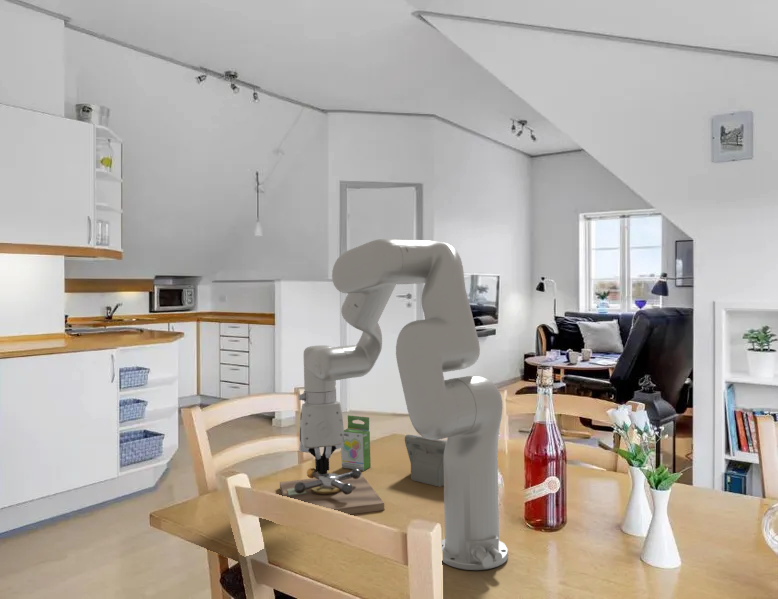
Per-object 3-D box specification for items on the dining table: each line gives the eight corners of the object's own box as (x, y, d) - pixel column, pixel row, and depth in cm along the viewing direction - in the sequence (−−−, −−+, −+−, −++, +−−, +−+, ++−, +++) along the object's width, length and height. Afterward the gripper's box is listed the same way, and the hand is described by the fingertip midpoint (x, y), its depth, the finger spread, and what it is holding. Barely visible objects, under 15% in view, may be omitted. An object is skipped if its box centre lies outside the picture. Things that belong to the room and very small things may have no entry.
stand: (384, 509, 130) (384, 502, 130) (290, 521, 124) (290, 513, 124) (360, 479, 151) (360, 472, 151) (280, 488, 145) (279, 481, 145)
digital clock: (470, 483, 146) (469, 440, 146) (442, 492, 140) (442, 446, 140) (425, 468, 159) (424, 428, 158) (399, 476, 153) (398, 434, 153)
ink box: (340, 468, 161) (339, 417, 160) (349, 464, 164) (347, 415, 164) (363, 471, 157) (362, 420, 157) (371, 467, 161) (370, 417, 160)
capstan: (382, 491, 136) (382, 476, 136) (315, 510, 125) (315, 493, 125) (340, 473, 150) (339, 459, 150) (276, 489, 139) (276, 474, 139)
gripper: (292, 403, 138) (294, 482, 138) (355, 397, 143) (356, 474, 144) (286, 397, 145) (288, 473, 145) (346, 392, 150) (348, 466, 151)
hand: (322, 473), depth 145 cm, fingers closed
